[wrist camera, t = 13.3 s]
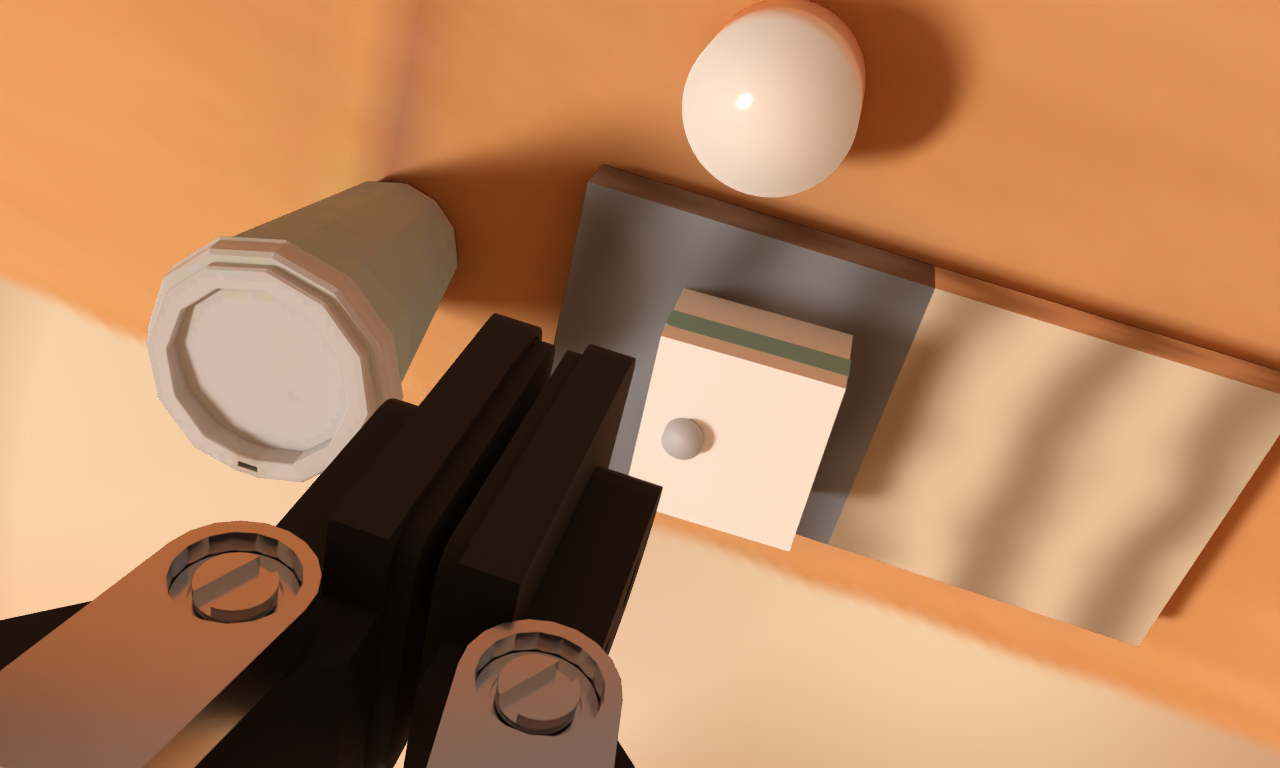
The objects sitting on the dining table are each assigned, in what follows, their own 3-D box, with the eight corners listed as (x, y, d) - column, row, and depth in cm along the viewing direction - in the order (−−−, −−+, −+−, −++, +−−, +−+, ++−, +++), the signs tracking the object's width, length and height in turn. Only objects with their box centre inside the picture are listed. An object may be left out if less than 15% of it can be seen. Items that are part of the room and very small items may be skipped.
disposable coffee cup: (316, 110, 52) (119, 218, 39) (524, 176, 51) (391, 308, 39) (302, 298, 58) (126, 446, 45) (489, 360, 57) (364, 529, 44)
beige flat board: (1285, 373, 48) (1302, 401, 45) (1129, 613, 55) (1137, 646, 53) (602, 164, 50) (587, 181, 48) (546, 422, 58) (531, 446, 56)
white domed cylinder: (889, 23, 44) (885, 48, 40) (836, 179, 48) (827, 218, 44) (727, -23, 45) (706, -3, 41) (687, 135, 49) (664, 169, 44)
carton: (854, 334, 49) (846, 395, 44) (800, 491, 53) (788, 560, 49) (682, 286, 49) (657, 340, 45) (645, 444, 54) (618, 509, 49)
